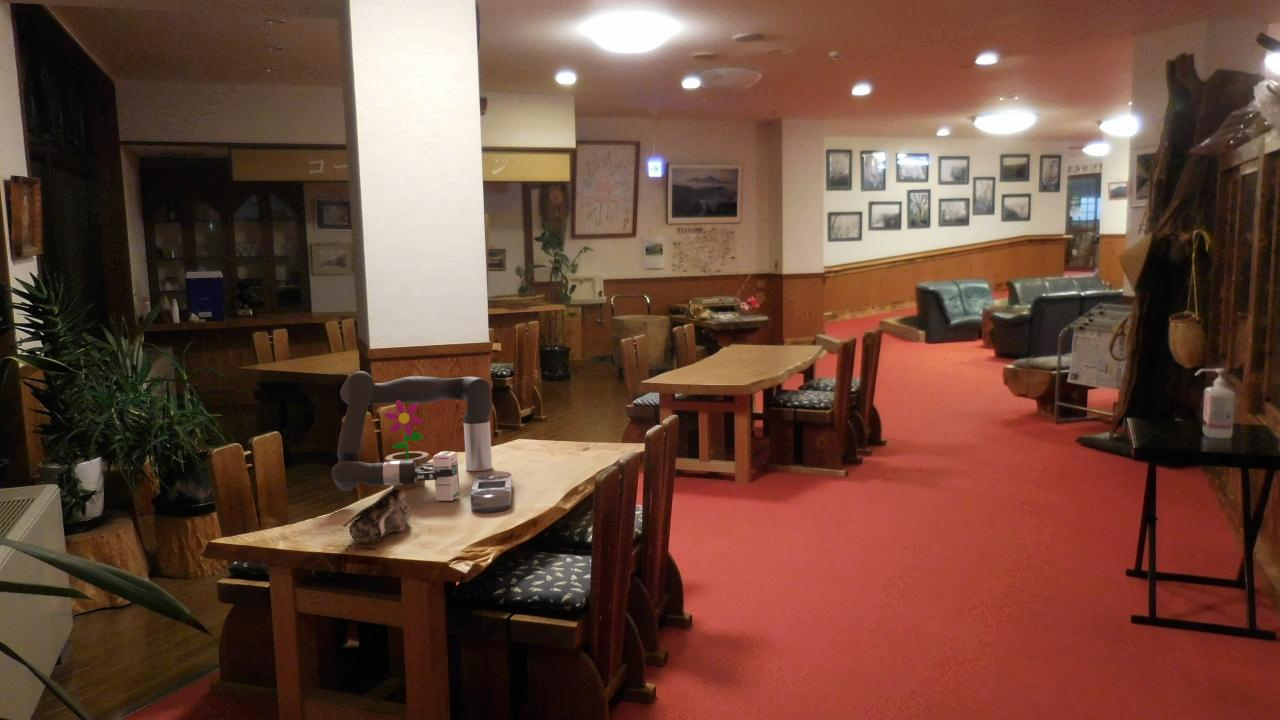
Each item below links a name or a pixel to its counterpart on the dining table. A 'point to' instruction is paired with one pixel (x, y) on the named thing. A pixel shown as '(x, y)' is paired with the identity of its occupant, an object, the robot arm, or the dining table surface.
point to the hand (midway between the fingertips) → (453, 469)
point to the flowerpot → (413, 436)
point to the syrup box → (447, 485)
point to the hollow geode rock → (380, 518)
